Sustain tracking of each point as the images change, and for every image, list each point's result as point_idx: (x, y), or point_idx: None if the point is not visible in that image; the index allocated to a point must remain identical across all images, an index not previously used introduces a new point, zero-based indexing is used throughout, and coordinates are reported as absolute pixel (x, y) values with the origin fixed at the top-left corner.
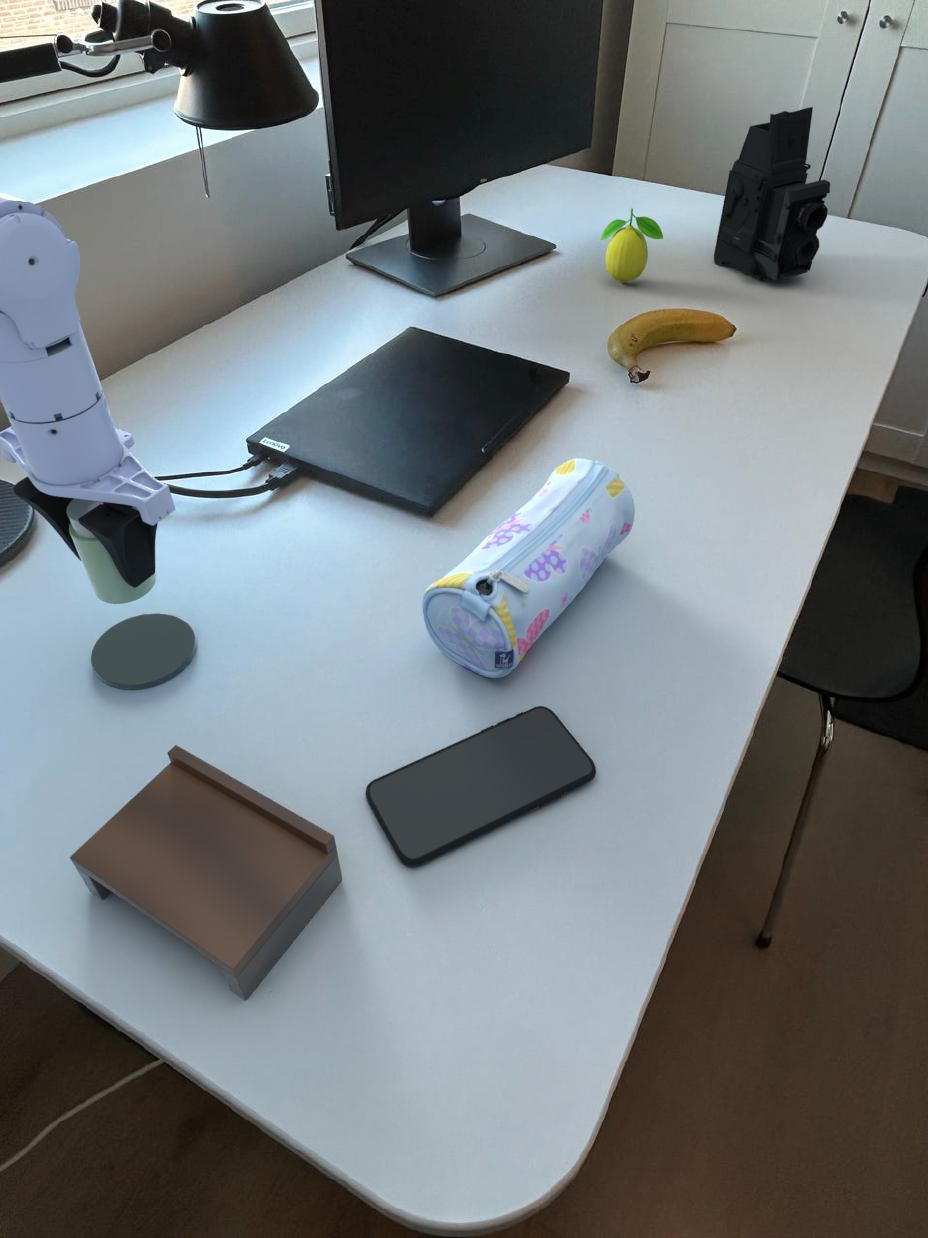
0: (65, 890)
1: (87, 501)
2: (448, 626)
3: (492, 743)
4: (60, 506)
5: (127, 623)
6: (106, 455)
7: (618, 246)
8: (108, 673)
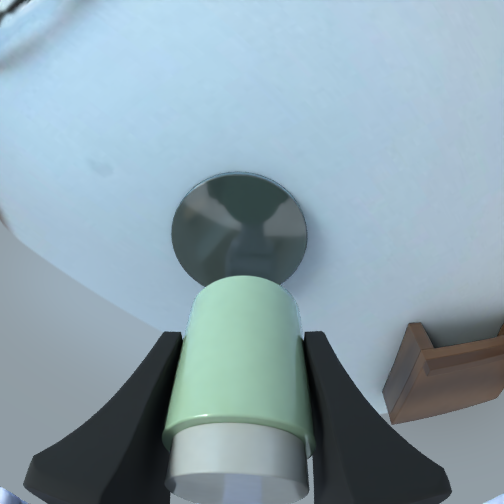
0: (366, 397)
1: (207, 493)
2: None
3: None
4: (161, 488)
5: (182, 222)
6: None
7: None
8: None
